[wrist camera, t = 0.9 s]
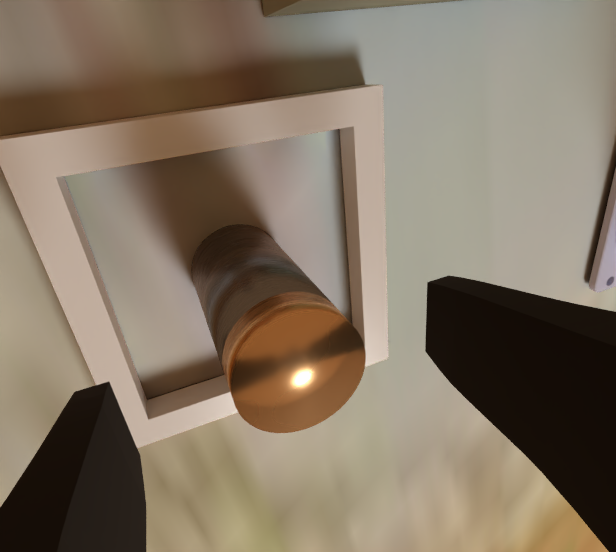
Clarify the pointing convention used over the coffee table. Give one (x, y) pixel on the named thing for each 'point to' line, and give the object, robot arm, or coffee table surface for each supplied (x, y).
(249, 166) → the coffee table surface
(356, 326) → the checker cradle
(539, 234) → the coffee table surface
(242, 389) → the cylinder
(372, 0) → the bin
